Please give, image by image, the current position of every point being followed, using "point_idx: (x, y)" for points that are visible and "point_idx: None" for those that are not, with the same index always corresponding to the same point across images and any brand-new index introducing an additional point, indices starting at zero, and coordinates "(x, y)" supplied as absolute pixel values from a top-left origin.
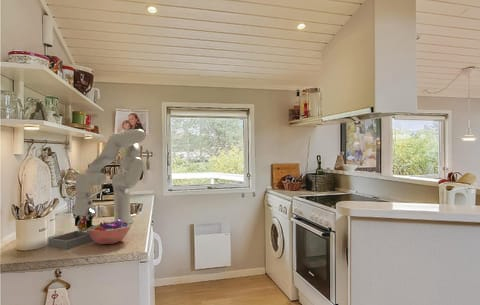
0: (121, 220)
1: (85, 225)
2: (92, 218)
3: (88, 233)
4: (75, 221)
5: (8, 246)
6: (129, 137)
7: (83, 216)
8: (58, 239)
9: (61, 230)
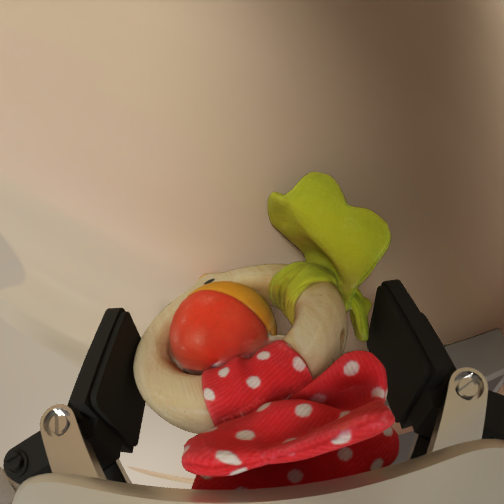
0: None
1: (274, 317)
2: (490, 391)
3: (488, 379)
4: (138, 421)
5: (177, 479)
6: None
7: (232, 476)
8: (392, 464)
9: (9, 317)
